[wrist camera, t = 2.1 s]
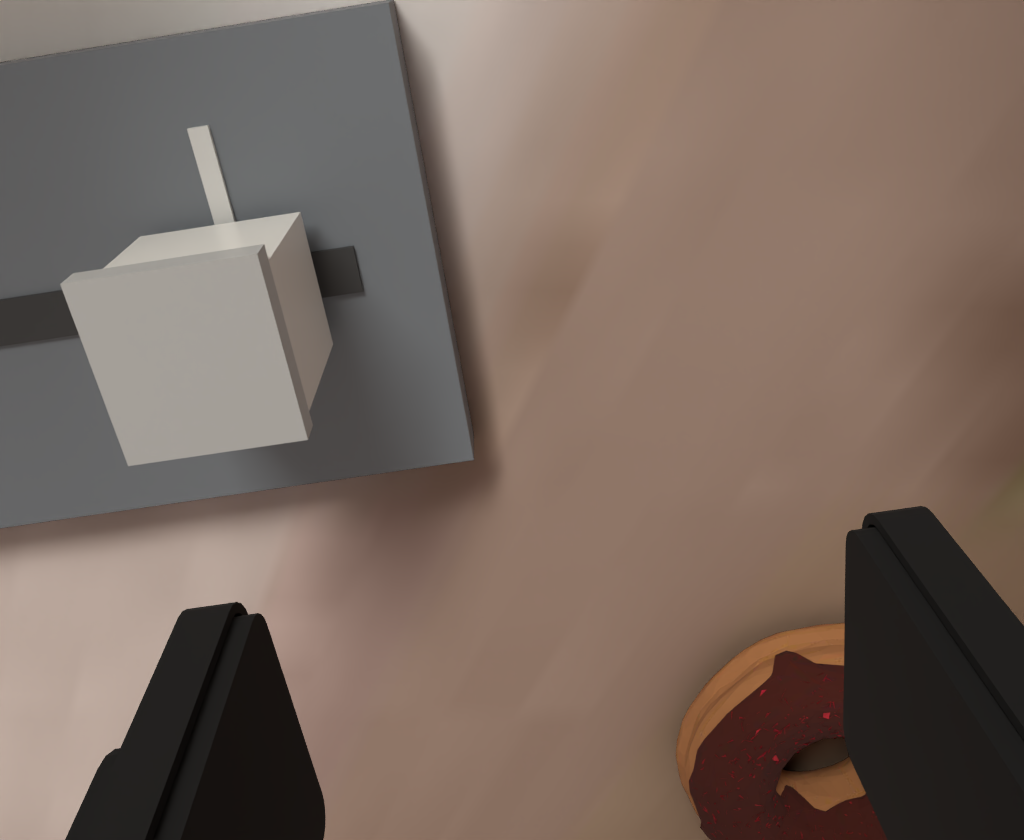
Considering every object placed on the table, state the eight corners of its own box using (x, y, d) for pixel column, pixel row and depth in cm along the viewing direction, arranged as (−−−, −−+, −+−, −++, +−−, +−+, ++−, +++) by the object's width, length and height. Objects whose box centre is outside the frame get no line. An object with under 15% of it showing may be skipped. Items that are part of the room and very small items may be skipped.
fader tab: (296, 197, 23) (256, 253, 19) (336, 356, 25) (307, 439, 21) (135, 222, 23) (59, 284, 19) (186, 378, 25) (127, 465, 21)
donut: (789, 851, 37) (822, 947, 34) (610, 728, 34) (626, 820, 30) (1004, 700, 34) (1065, 788, 31) (829, 550, 31) (875, 628, 27)
